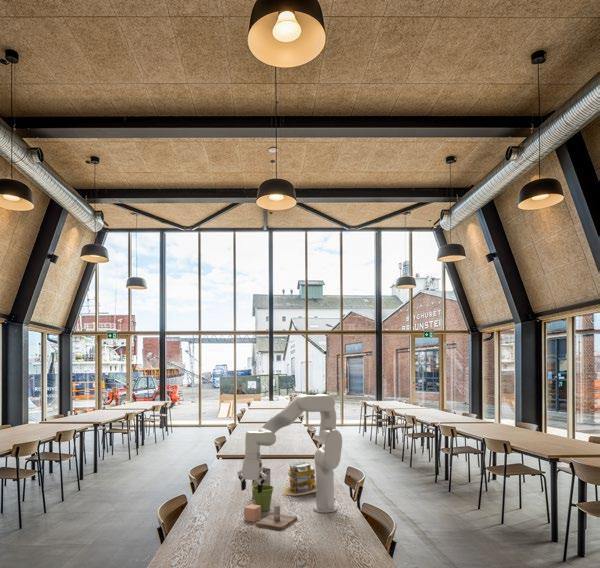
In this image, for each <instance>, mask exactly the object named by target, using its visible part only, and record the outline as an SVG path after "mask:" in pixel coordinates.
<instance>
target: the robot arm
mask: <svg viewBox="0 0 600 568" xmlns="http://www.w3.org/2000/svg"><path fill="white" fill-rule="evenodd" d="M335 406H336V402H335V399H334V397H333V396H332V395H329V394H326V393H321V392H320V393H316V394H315V395H313V394H312V395H310V394H305V393H304V394H303V393H300V394H298V395H296V396H295V397H294V398H293V399H292V400H291V401H290V402H288V404H287V405H286V406H285V407H284V408H283V409H282V410H281V411H280V412H278V414H276V415H275V416H273V417H272V418H270V419H269V420H268V421H266V423H264V425H263V426H261V428H259V430H248V431H246V433H245V437H244V438H245V443H244V444H245V445H244V447H245V449H244V459H243V462H242V469H241V470H240V471H237V476H238V479H239V480H240V481H239V482H240V485H241V486H240V487H241V488H240V490H241V491H246V490H247V481H246V480H250V481H252V480H257V482H258V483H259V485H258V493H261V492H262V489H263V483H264V482H265V481H266V479H267V475H266V474H264V473H263V468H264V467H263V461H262V459H261V458H262V457H263V455H262V454H261V446H264V447H271V446H273V445H274V444H275V443H276V441H277V436H276V433H277V432H278V431H279V430H281V429H282V428H285V427H288V426H290V425H292V424H294V422H296V421H297V420H298V418H299V417H300V416H301V415H303V413H304V412H307V413H319V414H320V423H319V432H318V440H319V442H320V443H321V444H323V445H324V446H321V447H319V448H317V449H316V451H315V452H314V456H313V457H314V466H315V468H314V469H315V482H316V491H315V500H316V502H315V505H313V507H312V508H313V511H315V512H317V513H323V514H325V513H327V514H331V513H334V512H336V511H337V510H338V506H337V505H336V504H335V501H336V500H337V498H336V497H335V485H334V484H335V477H334V476H335V475H334V474H335V473H334V470H335V469H337V468H338V467H339V465H340V463H341V458H342V457H341V456H342V451H343V449H342V448H343V436H342V433H341V431H339V430H338V429H336V428H337V427H336V426H337V411H336V409H335ZM262 478H263V480H262Z"/></svg>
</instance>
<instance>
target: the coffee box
mask: <svg viewBox="0 0 600 568" xmlns="http://www.w3.org/2000/svg"><path fill="white" fill-rule="evenodd" d="M263 473H264V474H266V475H267V479H266V481H265V482H264V483H263V485H271V468H270V467H269V468H268V467H263ZM262 480H263V478H262ZM251 481H252V482H251V484H252V486H251V490H252V491H251V492H252V493H251V495H252V496H251V498H253V499H255V498H254V493H253V489H252V487H254V486H257V485H259V483H258V482H257V480H251Z"/></svg>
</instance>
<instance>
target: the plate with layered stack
mask: <svg viewBox="0 0 600 568" xmlns="http://www.w3.org/2000/svg"><path fill="white" fill-rule="evenodd" d="M289 468H290V469H288V470H287V475H288V477H289V479H288V480H289V486H288V487H286V488H284V490H283V494H284V495H288V496H301V495H308V494H311V493H316V469H315V468H314V467H313V466H312V465H311V463H309V462H308V461H307V460H303V461H298V462H295V461H294V462H292V463H289Z"/></svg>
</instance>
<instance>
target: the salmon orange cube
mask: <svg viewBox="0 0 600 568" xmlns="http://www.w3.org/2000/svg"><path fill="white" fill-rule="evenodd" d="M243 509H244V512H243V513H244V516H243V517H244V519H243V520H244V521H249V522H252V523H253V522H258V521H259V520H261V519H262V511H261V506H260V505H255V504H254V503H251V504H249V505H246V506H244V508H243Z"/></svg>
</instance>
